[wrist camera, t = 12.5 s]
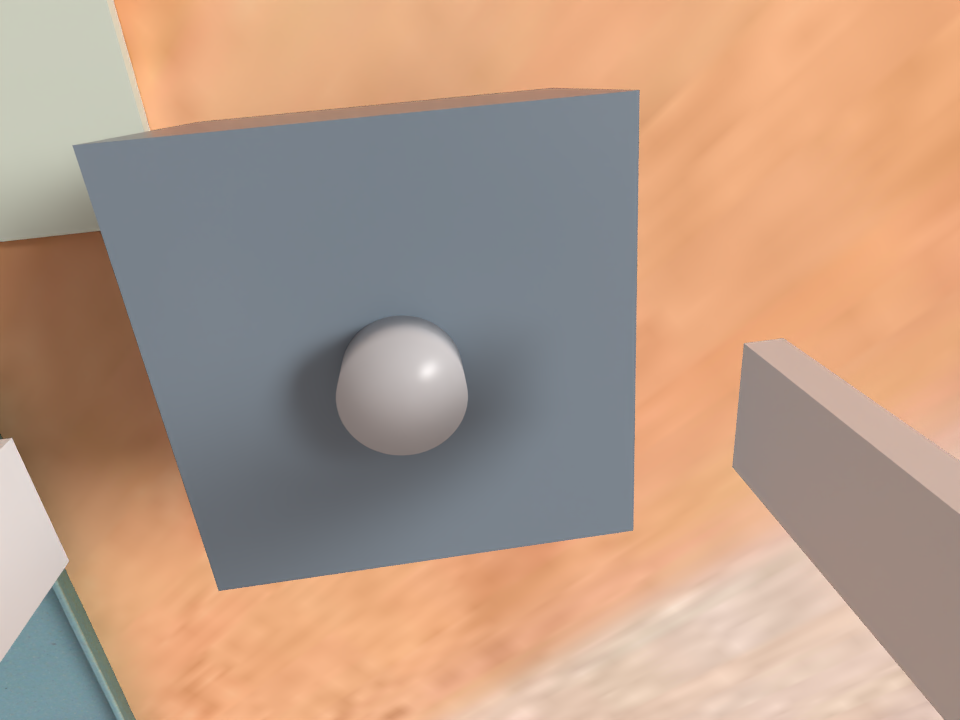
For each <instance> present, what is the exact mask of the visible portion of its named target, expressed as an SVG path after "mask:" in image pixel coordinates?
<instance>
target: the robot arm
mask: <svg viewBox="0 0 960 720" xmlns="http://www.w3.org/2000/svg"><path fill="white" fill-rule="evenodd" d="M732 467H733V468H734V469H735V471H736V472H737V473H738V474H739V475H740V477H741V478H742V479H743V480H744V481H745V483H746V484H747V485H748V486H749V487H750V488H751V490H752V491H753V492H754V493H755V494H756V496H757V497H758V498H759V499H760V500H761V502H762V503H763V504H764V505H765V506H766V508H767V509H768V510H769V511H770V512H771V514H772V515H773V516H774V517H775V518H776V520H777V521H778V522H779V523H780V524H781V525H782V527H783V528H784V529H785V530H786V531H787V533H788V534H789V535H790V536H791V537H792V539H793V540H794V541H795V542H796V543H797V545H798V546H799V547H800V548H801V549H802V551H803V552H804V553H805V554H806V555H807V556H808V558H809V559H810V560H811V561H812V562H813V564H814V565H815V566H816V567H817V568H818V570H819V571H820V572H821V573H822V574H823V576H824V577H825V578H826V579H827V580H828V582H829V583H830V584H831V585H832V586H833V588H834V589H835V590H836V591H837V592H838V593H839V595H840V596H841V597H842V598H843V599H844V601H845V602H846V603H847V604H848V605H849V607H850V608H851V609H852V610H853V611H854V613H855V614H856V615H857V616H858V617H859V619H860V620H861V621H862V622H863V623H864V625H865V626H866V627H867V628H868V629H869V630H870V632H871V633H872V634H873V635H874V636H875V638H876V639H877V640H878V641H879V642H880V644H881V645H882V646H883V647H884V648H885V650H886V651H887V652H888V653H889V654H890V656H891V657H892V658H893V659H894V660H895V662H896V663H897V664H898V665H899V666H900V667H901V669H902V670H903V671H904V672H905V673H906V675H907V676H908V677H909V678H910V679H911V681H912V682H913V683H914V684H915V685H916V687H917V688H918V689H919V690H920V691H921V693H922V694H923V695H924V696H925V697H926V699H927V700H928V701H929V702H930V703H931V704H932V706H933V707H934V708H935V709H936V710H937V712H938V713H939V714H940V715H941V716H942V718H943V719H944V720H960V461H959V460H958V459H956V458H955V457H953V456H952V455H950V454H949V453H947V452H946V451H945V450H943V449H942V448H940V447H939V446H937V445H936V444H935V443H933V442H932V441H930V440H929V439H927V438H926V437H925V436H923V435H922V434H920V433H919V432H917V431H916V430H914V429H913V428H912V427H910V426H909V425H907V424H906V423H904V422H903V421H902V420H900V419H899V418H897V417H896V416H894V415H893V414H891V413H890V412H889V411H887V410H886V409H884V408H883V407H881V406H880V405H879V404H877V403H876V402H874V401H873V400H871V399H870V398H869V397H867V396H866V395H864V394H863V393H861V392H860V391H858V390H857V389H856V388H854V387H853V386H851V385H850V384H848V383H847V382H846V381H844V380H843V379H841V378H840V377H838V376H837V375H836V374H834V373H833V372H831V371H830V370H828V369H827V368H825V367H824V366H823V365H821V364H820V363H818V362H817V361H815V360H814V359H813V358H811V357H810V356H808V355H807V354H805V353H804V352H803V351H801V350H800V349H798V348H797V347H795V346H794V345H792V344H791V343H790V342H788V341H787V340H785V339H784V338H782V339H774V340H766V341H758V342H751V343H744V348H743V359H742V370H741V381H740V391H739V402H738V413H737V423H736V434H735V445H734V456H733V466H732ZM68 562H69V560H68V558H67V556H66V553H65V551H64V549H63V547H62V545H61V543H60V541H59V538H58V536H57V534H56V532H55V530H54V528H53V525H52V523H51V521H50V519H49V517H48V515H47V512H46V510H45V508H44V506H43V504H42V502H41V500H40V497H39V495H38V493H37V491H36V489H35V487H34V484H33V482H32V480H31V478H30V476H29V474H28V472H27V469H26V467H25V465H24V463H23V461H22V459H21V456H20V454H19V452H18V450H17V448H16V446H15V443H14V441H13V439H12V438H8V439H1V440H0V662H1V661H2V659H3V658H4V656H5V655H6V653H7V652H8V650H9V649H10V647H11V646H12V644H13V643H14V641H15V640H16V639H17V637H18V636H19V634H20V633H21V631H22V630H23V628H24V627H25V625H26V624H27V622H28V621H29V619H30V618H31V616H32V615H33V614H34V612H35V611H36V609H37V608H38V606H39V605H40V603H41V602H42V600H43V599H44V597H45V596H46V594H47V593H48V591H49V590H50V589H51V587H52V586H53V584H54V583H55V581H56V580H57V578H58V577H59V575H60V574H61V572H62V571H63V569H64V568H65V567H66V565H67V564H68Z"/></svg>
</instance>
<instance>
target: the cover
mask: <svg viewBox="0 0 960 720" xmlns="http://www.w3.org/2000/svg"><path fill="white" fill-rule="evenodd" d="M72 146H73V149H74V152H75V155H76V158H77V161H78V164H79V167H80V170H81V173H82V176H83V179H84V182H85V185H86V188H87V192H88V195H89V198H90V201H91V204H92V207H93V210H94V213H95V216H96V219H97V222H98V225H99V228H100V231H101V234H102V237H103V240H104V243H105V246H106V249H107V252H108V255H109V258H110V261H111V265H112V268H113V271H114V274H115V277H116V280H117V283H118V286H119V289H120V292H121V295H122V298H123V301H124V304H125V307H126V310H127V313H128V316H129V319H130V322H131V325H132V328H133V331H134V334H135V337H136V341H137V344H138V347H139V350H140V353H141V356H142V359H143V362H144V365H145V368H146V371H147V374H148V377H149V380H150V383H151V386H152V389H153V392H154V395H155V398H156V401H157V404H158V407H159V410H160V413H161V417H162V420H163V423H164V426H165V429H166V432H167V435H168V438H169V441H170V444H171V447H172V450H173V453H174V456H175V459H176V462H177V465H178V468H179V471H180V474H181V477H182V480H183V483H184V486H185V490H186V493H187V496H188V499H189V502H190V505H191V508H192V511H193V514H194V517H195V520H196V523H197V526H198V529H199V532H200V535H201V538H202V541H203V544H204V547H205V550H206V553H207V556H208V559H209V562H210V566H211V569H212V572H213V575H214V578H215V581H216V584H217V587H218V590H219V591H221V590H228V589H235V588H242V587H249V586H256V585H263V584H269V583H276V582H283V581H290V580H297V579H304V578H311V577H317V576H324V575H331V574H338V573H345V572H352V571H359V570H365V569H372V568H379V567H386V566H393V565H400V564H407V563H413V562H420V561H427V560H434V559H441V558H448V557H455V556H461V555H468V554H475V553H482V552H489V551H496V550H503V549H509V548H516V547H523V546H530V545H537V544H544V543H551V542H557V541H564V540H571V539H578V538H585V537H592V536H599V535H605V534H612V533H619V532H626V531H633V509H634V439H635V368H636V298H637V228H638V158H639V90H611V89H570V88H547V89H536V90H526V91H515V92H505V93H494V94H484V95H474V96H463V97H453V98H442V99H432V100H422V101H411V102H401V103H390V104H380V105H370V106H359V107H349V108H338V109H328V110H318V111H307V112H297V113H286V114H276V115H266V116H255V117H245V118H234V119H224V120H213V121H203V122H196V123H190V124H185V125H179V126H174V127H169V128H163V129H158V130H152V131H147V132H142V133H136V134H131V135H125V136H120V137H115V138H109V139H104V140H98V141H93V142H88V143H82V144H77V145H72Z"/></svg>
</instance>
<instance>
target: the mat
mask: <svg viewBox="0 0 960 720" xmlns="http://www.w3.org/2000/svg"><path fill="white" fill-rule="evenodd" d="M147 131H150V128H149V124H148V121H147V117H146V114H145V110H144V107H143V103H142V100H141V96H140V93H139V89H138V86H137V82H136V78H135V75H134V71H133V68H132V64H131V61H130V57H129V54H128V50H127V47H126V43H125V40H124V36H123V33H122V29H121V25H120V22H119V18H118V15H117V11H116V8H115V4H114V1H113V0H0V242H3V241H12V240H21V239H30V238H40V237H49V236H58V235H67V234H76V233H85V232H94V231H100V228H99V225H98V222H97V219H96V216H95V213H94V210H93V207H92V204H91V201H90V198H89V195H88V192H87V188H86V185H85V182H84V179H83V176H82V173H81V170H80V167H79V164H78V161H77V158H76V155H75V152H74V149H73V146H72V145H77V144H82V143H88V142H93V141H98V140H104V139H109V138H115V137H120V136H125V135H131V134H136V133H142V132H147Z"/></svg>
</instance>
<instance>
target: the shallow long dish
mask: <svg viewBox="0 0 960 720" xmlns="http://www.w3.org/2000/svg"><path fill="white" fill-rule="evenodd" d="M1 439H3V438H2V436H1V434H0V440H1ZM0 720H136V719H135V717H134V715H133V713H132V711H131V709H130V707H129V705H128V702H127V700H126V698H125V696H124V694H123V692H122V689H121V687H120V685H119V683H118V681H117V678H116V676H115V674H114V672H113V670H112V668H111V665H110V663H109V661H108V659H107V657H106V655H105V653H104V650H103V648H102V646H101V644H100V642H99V640H98V638H97V635H96V633H95V631H94V629H93V627H92V625H91V623H90V620H89V618H88V616H87V614H86V612H85V610H84V608H83V606H82V604H81V601H80V599H79V597H78V595H77V593H76V591H75V589H74V587H73V585H72V583H71V581H70V579H69V577H68V574H67V572H66V570H65V568H64V569H63V571H62V572H61V574H60V575H59V577H58V578H57V580H56V581H55V583H54V584H53V586H52V587H51V589H50V590H49V591H48V593H47V594H46V596H45V597H44V599H43V600H42V602H41V603H40V605H39V606H38V608H37V609H36V611H35V612H34V614H33V615H32V616H31V618H30V619H29V621H28V622H27V624H26V625H25V627H24V628H23V630H22V631H21V633H20V634H19V636H18V637H17V639H16V640H15V641H14V643H13V644H12V646H11V647H10V649H9V650H8V652H7V653H6V655H5V656H4V658H3V659H2V661H1V662H0Z"/></svg>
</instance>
